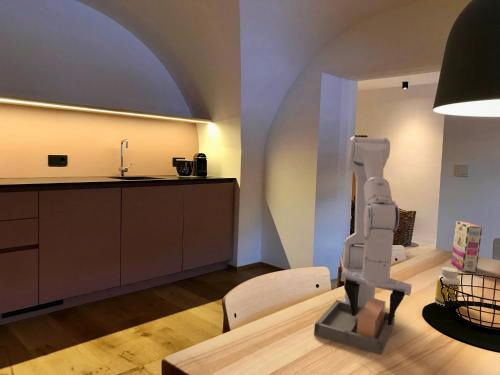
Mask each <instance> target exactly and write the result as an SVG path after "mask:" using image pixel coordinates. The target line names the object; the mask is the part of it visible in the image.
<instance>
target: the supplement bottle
mask: <svg viewBox="0 0 500 375" xmlns="http://www.w3.org/2000/svg"><path fill="white" fill-rule="evenodd" d="M458 276H459V269H458V268H454V267H448V266H443V267H441V274H439V275H438V276H437V279H436V280H437V281H436V289H435V299H434V301H435V303H436V304H437V305H439V304H440V305H439V306H441V305H443V306H442V307H444V306H445V303H444V300H443V297H442V294H441V283H440V278H441V277H443V278H442V282H443V284H445V285H447V286H449V287H451V288H453V289H455V290H457V291H459V292H457V298H458V299H459V294H460V286H461V280H460V279H459V278H458ZM443 293H444V295H445V297H446V299H448V295H447V289H446V288H444V289H443ZM449 296H450V297H451V300H452V301H456V297H455V292H454V291H453V290H451V289H449Z"/></svg>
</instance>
